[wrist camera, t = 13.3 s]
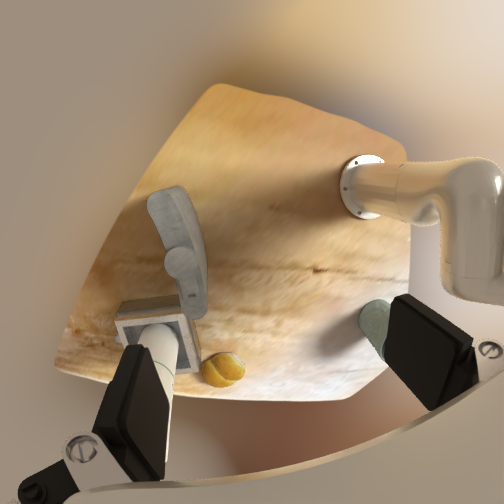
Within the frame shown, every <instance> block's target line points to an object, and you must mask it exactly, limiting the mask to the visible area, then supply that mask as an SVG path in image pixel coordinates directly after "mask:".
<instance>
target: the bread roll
mask: <svg viewBox="0 0 504 504" xmlns="http://www.w3.org/2000/svg"><path fill="white" fill-rule="evenodd" d="M244 374H245V364H244V362H243V361H242V360H241V359H240V358H239V357H238V356H237V355H236V354H234V353H220V354H217V355H215V356H214V357H212V358H211V359H209V360H208V361H206V362H205V363H204V364H203V366H202V375H203V377H204V379H205V380H206V382H207V383H208V384H210V385H211V386H214V387H220V388H222V387H228V386H231V385H232V384H234V383H235V382H236V381H238V380H240V379H241V378H242V377H243V376H244Z"/></svg>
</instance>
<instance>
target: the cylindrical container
mask: <svg viewBox="0 0 504 504" xmlns="http://www.w3.org/2000/svg"><path fill="white" fill-rule="evenodd" d="M138 344H142V345H143V346H144V348H145V347H148V348H149V350H150V353H151V356H152V359H153V362H154V364H155V367H156V370H157V372H158V375H159V378H160V380H161V383H162V385H163V388H164V390H165V393H166V395H167V397H168V400H169V404H170V411H169V422H168V433H167V445H166V459H165V463H166V461H167V459H168V444H169V430H170V418H171V408H172V398H173V389H174V379H175V371H176V362H177V355H178V347H179V338H178V336H177V334H176V333H175V331H174V330H173V329H171V328H170V327H168V326H166V325H163V324H151V325H148V326H147V327H145V328H144V329H143V331H142V333H141V336H140V338H139V341H138Z"/></svg>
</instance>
